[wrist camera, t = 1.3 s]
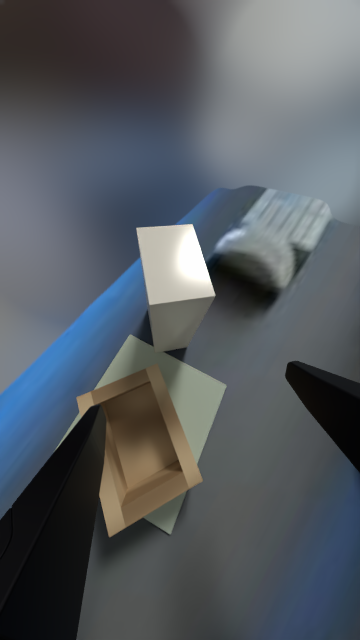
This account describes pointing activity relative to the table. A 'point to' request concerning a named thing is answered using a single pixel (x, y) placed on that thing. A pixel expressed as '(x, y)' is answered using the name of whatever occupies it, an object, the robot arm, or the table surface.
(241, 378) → the table surface
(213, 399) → the mat
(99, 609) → the table surface
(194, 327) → the off-white rectangular block
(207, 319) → the table surface
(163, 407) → the tray
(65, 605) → the robot arm
